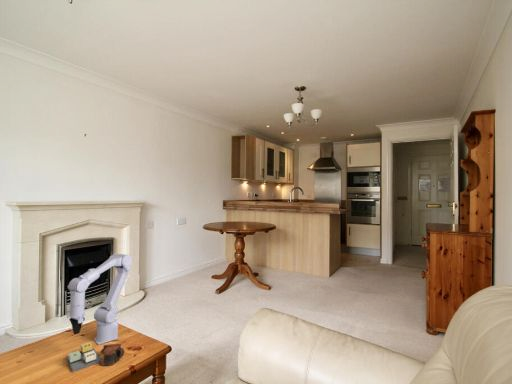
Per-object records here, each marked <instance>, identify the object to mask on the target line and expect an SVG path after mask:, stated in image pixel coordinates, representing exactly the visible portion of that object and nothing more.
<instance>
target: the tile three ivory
mask: <svg viewBox="0 0 512 384" xmlns="http://www.w3.org/2000/svg"><path fill="white" fill-rule="evenodd" d="M95 359H96V353H95V352H94V351H90V352H87V353H84V360H85V362H89V361H92V360H95Z"/></svg>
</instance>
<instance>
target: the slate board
mask: <svg viewBox="0 0 512 384" xmlns="http://www.w3.org/2000/svg"><path fill="white" fill-rule="evenodd" d="M90 351H94V352H95V353H96V359H95V360H92V361H89V362H85V360H84V353H87V352H90ZM79 352H80V353H81V359H79V360H77V361H74V362H71V363H70V361H69V359H68V355H66V356H65V359H66V360H65V361H66V362H67V363H68V365H69V368H70V370H71V372H72V373H74V372H78V371H80V370H82V369H86V368H88V367H91V366H94V365H96V364H99V363H101V360H102V358H101V357H100V355H99V354H98V353H97V351H96V349H95V348H94V347H92V350H89V351H86V352H83V353H82V351H81V350H79Z"/></svg>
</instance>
